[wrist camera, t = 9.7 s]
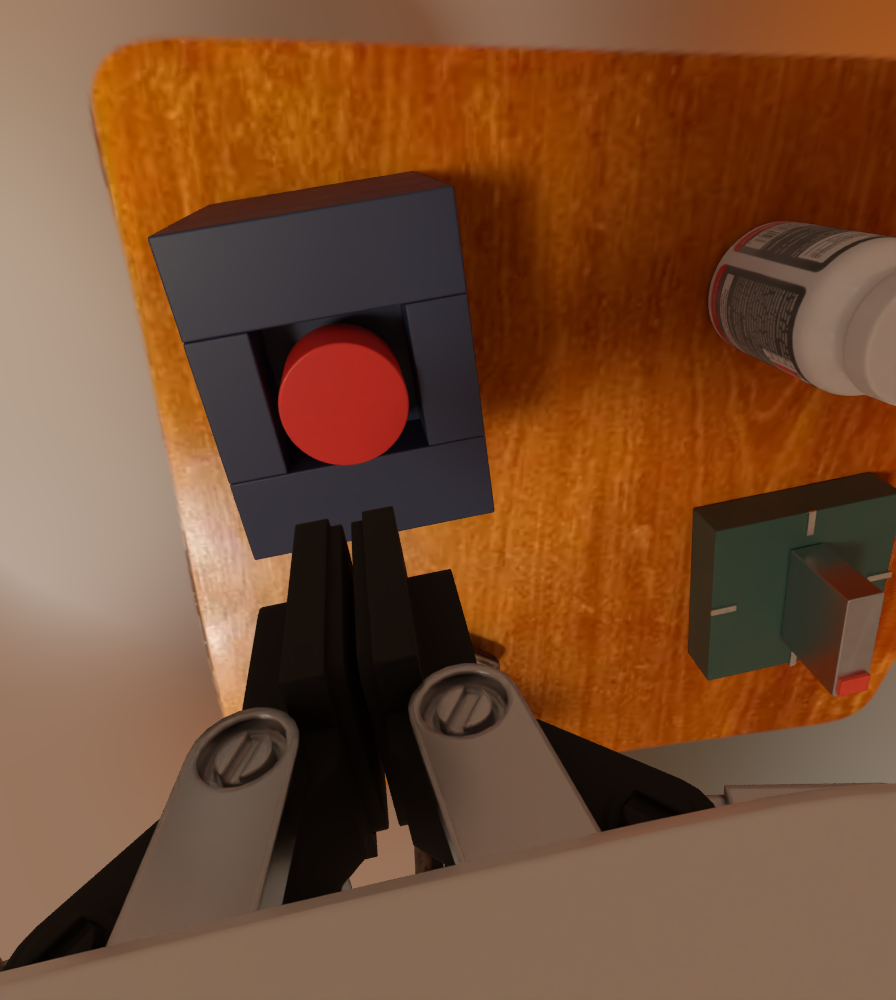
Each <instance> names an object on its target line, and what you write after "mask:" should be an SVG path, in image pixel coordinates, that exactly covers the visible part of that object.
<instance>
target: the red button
mask: <svg viewBox="0 0 896 1000" xmlns="http://www.w3.org/2000/svg"><path fill="white" fill-rule="evenodd" d="M278 409H279V415H280V419H281V422H282V425H283V427H284V429H285V431H286V433H287V435H288V436H289V437H290V439H291V440H292V441H293V442H294V444H295V445H296V446H297V447H298V448H300V449H301V450H302V451H303V452H305V453H306V454H308V455H309V456H311V457H313V458H315V459H317V460H320V461H322V462H325V463H330V464H335V465H354V464H360V463H364V462H367V461H369V460H372V459H374V458H376V457H378V456H380V455H381V454H383V453H384V452H385V451H387V450H388V449H389V448H390V447H391V446H392V445H393V444H394V443H395V442H396V440H397V439H398V438H399V436H400V435H401V433H402V431H403V429H404V427H405V424H406V421H407V417H408V411H409V399H408V392H407V388H406V385H405V381H404V378H403V375H402V372H401V369H400V365H399V363H398V360H397V358H396V356H395V354H394V352H393V351H392V349H391V348H390V347H389V345H388V344H387V343H386V342H385V341H384V340H383V339H382V338H381V337H379V336H378V335H377V334H375V333H374V332H372V331H370V330H368V329H366V328H364V327H361V326H357V325H353V324H347V323H336V324H329V325H325V326H321V327H319V328H316V329H314V330H312V331H311V332H309V333H307V334H306V335H305V336H303V337H302V338H301V339H300V340H299V341H298V342H297V343H296V344H295V345H294V347H293V348H292V349H291V351H290V353H289V355H288V357H287V360H286V362H285V366H284V370H283V375H282V380H281V385H280V390H279V397H278Z"/></svg>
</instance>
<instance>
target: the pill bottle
mask: <svg viewBox="0 0 896 1000" xmlns="http://www.w3.org/2000/svg"><path fill="white" fill-rule="evenodd" d="M708 307H709V314H710V318H711V321H712V324H713V326H714V328H715V330H716V331H717V333H718V334H719V335H720V336H721V338H722V339H723V340H724V341H726V342H727V343H728V344H730V345H731V346H733V347H734V348H736V349H738V350H740V351H742V352H744V353H746V354H748V355H750V356H753V357H755V358H757V359H759V360H761V361H763V362H765V363H767V364H769V365H771V366H773V367H775V368H777V369H779V370H781V371H784V372H786V373H787V374H789V375H791V376H793V377H796V378H798V379H800V380H802V381H804V382H806V383H808V384H810V385H813V386H815V387H817V388H819V389H821V390H824V391H826V392H829V393H833V394H837V395H844V396H856V395H864V394H865V395H867V396H870V397H873V398H876V399H878V400H880V401H883V402H885V403H888V404H891V405H894V406H896V237H891V236H883V235H877V234H870V233H864V232H857V231H852V230H846V229H839V228H832V227H826V226H821V225H814V224H808V223H801V222H795V221H777V222H771V223H767V224H764V225H762V226H759V227H757V228H755V229H753V230H751V231H749V232H748V233H746V234H745V235H743V236H742V237H741V238H740V239H739V240H737V241H736V242H735V243H734V244H733V245H732V246H731V247H730V248H729V250H728V251H727V252H726V253H725V255H724V256H723V257H722V259H721V261H720V262H719V264H718V266H717V268H716V270H715V272H714V275H713V277H712V281H711V284H710V289H709V297H708Z"/></svg>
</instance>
